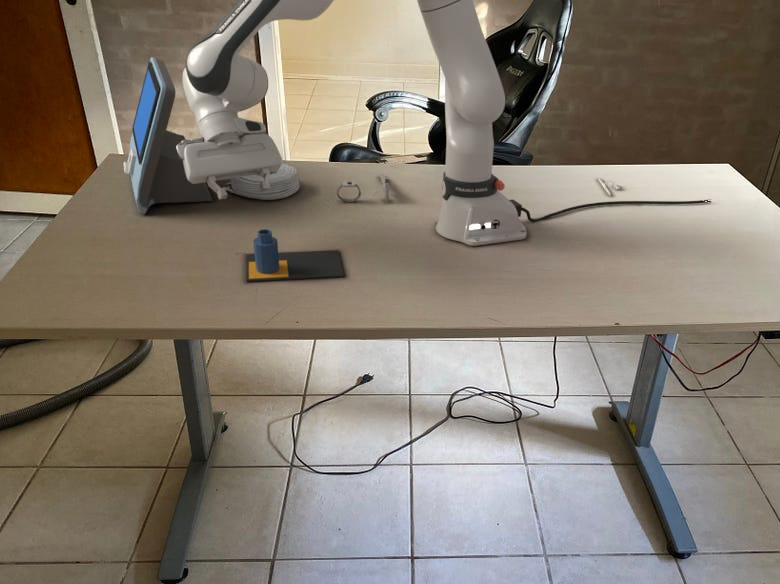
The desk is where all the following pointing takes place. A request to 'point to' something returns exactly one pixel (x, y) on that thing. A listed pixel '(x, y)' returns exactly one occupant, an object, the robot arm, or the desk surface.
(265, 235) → the vase
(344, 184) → the wristwatch
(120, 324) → the desk surface
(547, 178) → the desk surface
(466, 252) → the desk surface
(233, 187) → the cable
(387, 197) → the caliper
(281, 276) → the desk mat
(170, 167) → the touchscreen device
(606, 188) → the picture light
